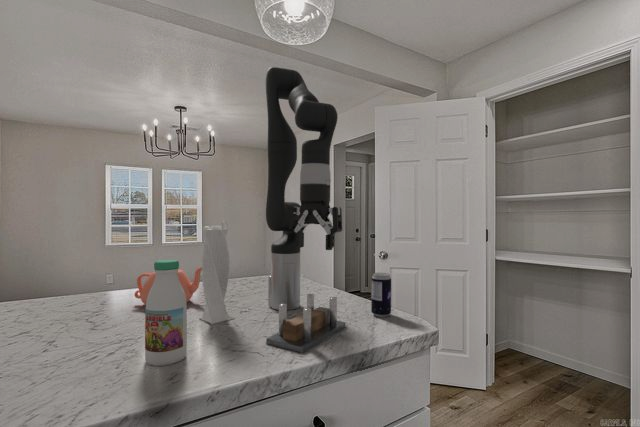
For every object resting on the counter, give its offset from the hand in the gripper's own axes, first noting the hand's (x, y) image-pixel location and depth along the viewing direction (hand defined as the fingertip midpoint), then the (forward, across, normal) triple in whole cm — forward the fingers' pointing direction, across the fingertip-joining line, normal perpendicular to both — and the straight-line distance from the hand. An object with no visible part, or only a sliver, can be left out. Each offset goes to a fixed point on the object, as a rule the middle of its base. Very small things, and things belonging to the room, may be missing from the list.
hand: (314, 248), depth 85 cm
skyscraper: (+22, -28, -6) cm, 36 cm away
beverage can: (+21, +8, +23) cm, 33 cm away
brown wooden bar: (+20, 0, -2) cm, 20 cm away
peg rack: (+21, 0, -2) cm, 21 cm away
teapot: (+22, -54, -2) cm, 58 cm away
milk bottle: (+21, -17, -29) cm, 40 cm away
